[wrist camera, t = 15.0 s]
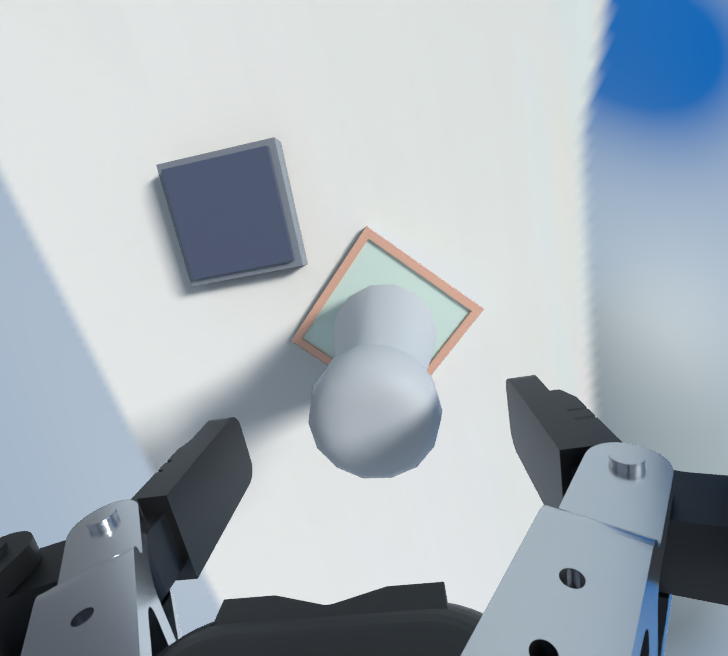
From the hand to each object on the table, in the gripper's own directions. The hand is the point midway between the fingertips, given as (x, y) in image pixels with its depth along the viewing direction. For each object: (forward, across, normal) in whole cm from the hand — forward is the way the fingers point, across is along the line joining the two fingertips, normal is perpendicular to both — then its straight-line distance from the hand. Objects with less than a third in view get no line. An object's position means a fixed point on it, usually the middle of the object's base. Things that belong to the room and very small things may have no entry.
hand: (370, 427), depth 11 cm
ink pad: (+14, +8, -8) cm, 17 cm away
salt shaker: (+13, 0, 0) cm, 13 cm away
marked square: (+13, 0, 0) cm, 13 cm away
